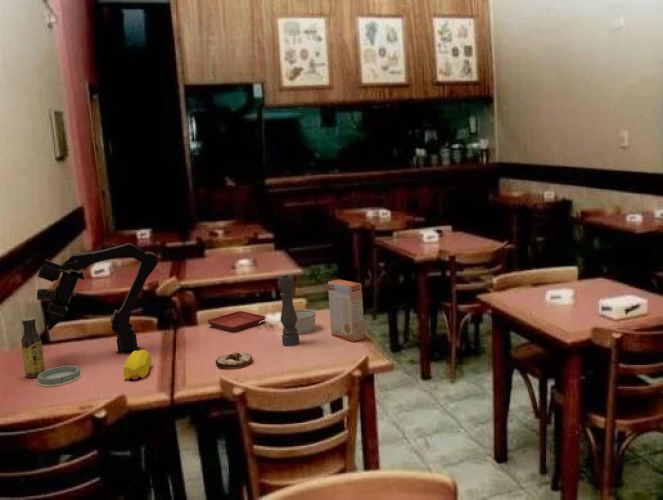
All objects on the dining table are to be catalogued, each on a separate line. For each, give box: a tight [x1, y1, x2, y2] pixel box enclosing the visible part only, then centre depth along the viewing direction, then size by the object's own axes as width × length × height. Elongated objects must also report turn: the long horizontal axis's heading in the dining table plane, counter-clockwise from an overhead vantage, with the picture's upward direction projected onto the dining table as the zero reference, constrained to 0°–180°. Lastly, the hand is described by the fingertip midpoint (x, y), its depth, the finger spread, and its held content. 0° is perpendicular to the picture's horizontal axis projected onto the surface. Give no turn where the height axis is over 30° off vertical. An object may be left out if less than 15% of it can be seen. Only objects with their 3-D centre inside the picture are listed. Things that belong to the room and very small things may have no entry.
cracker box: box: [327, 279, 366, 343], centre depth 237 cm, size 14×6×21 cm, turn 34°
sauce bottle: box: [21, 317, 46, 379], centre depth 220 cm, size 6×6×20 cm
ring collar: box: [36, 365, 83, 388], centre depth 215 cm, size 14×14×2 cm
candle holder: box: [277, 274, 300, 347], centre depth 234 cm, size 6×6×25 cm
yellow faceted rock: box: [123, 349, 153, 381], centre depth 215 cm, size 18×7×8 cm
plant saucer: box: [206, 310, 267, 333], centre depth 267 cm, size 18×18×3 cm
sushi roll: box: [215, 351, 253, 371], centre depth 218 cm, size 15×15×4 cm
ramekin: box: [295, 308, 317, 335], centre depth 252 cm, size 13×13×7 cm
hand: (49, 326), depth 231 cm, fingers open, 9 cm apart
